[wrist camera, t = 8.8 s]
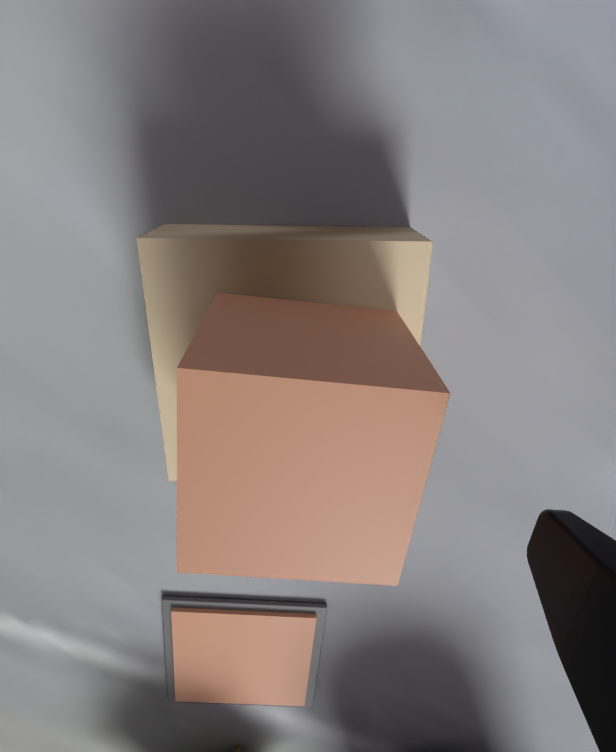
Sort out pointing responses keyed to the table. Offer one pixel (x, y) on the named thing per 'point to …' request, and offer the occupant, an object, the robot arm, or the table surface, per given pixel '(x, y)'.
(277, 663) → the tile
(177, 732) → the table surface
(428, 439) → the terracotta cube
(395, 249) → the maple base block
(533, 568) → the robot arm
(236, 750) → the game die
